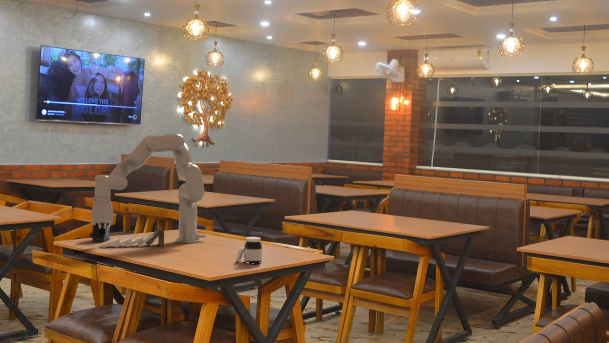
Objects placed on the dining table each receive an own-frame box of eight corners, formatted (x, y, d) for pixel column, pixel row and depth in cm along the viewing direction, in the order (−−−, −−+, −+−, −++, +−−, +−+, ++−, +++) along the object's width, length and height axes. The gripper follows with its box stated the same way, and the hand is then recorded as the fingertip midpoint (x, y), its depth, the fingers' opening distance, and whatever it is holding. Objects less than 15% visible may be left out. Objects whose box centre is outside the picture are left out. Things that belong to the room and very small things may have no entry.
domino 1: (101, 246, 362) (119, 241, 365) (102, 248, 357) (120, 242, 360) (101, 243, 362) (118, 238, 365) (101, 244, 357) (119, 239, 360)
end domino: (147, 244, 371) (158, 231, 372) (149, 246, 366) (160, 233, 367) (145, 243, 370) (156, 229, 372) (146, 244, 365) (158, 231, 367)
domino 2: (113, 246, 364) (130, 240, 367) (115, 247, 360) (132, 241, 362) (113, 243, 364) (129, 237, 367) (114, 244, 359) (131, 238, 362)
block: (161, 244, 375) (161, 228, 374) (164, 246, 367) (164, 231, 367) (158, 244, 374) (158, 228, 373) (160, 246, 366) (161, 231, 366)
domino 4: (138, 245, 369) (152, 234, 371) (140, 246, 364) (154, 236, 366) (136, 242, 369) (150, 232, 371) (138, 244, 364) (152, 233, 366)
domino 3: (125, 245, 367) (142, 238, 369) (127, 247, 362) (143, 240, 364) (124, 242, 366) (141, 235, 369) (126, 244, 361) (142, 237, 364)
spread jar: (263, 264, 327) (264, 239, 327) (238, 265, 324) (239, 239, 323) (257, 259, 339) (258, 235, 338) (233, 260, 336) (234, 235, 335)
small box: (104, 242, 374) (104, 222, 373) (91, 242, 374) (92, 222, 373) (110, 239, 384) (110, 220, 384) (98, 239, 384) (98, 219, 384)
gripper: (87, 200, 352) (87, 237, 353) (118, 200, 358) (118, 236, 359) (86, 199, 359) (85, 235, 360) (117, 198, 365) (116, 234, 366)
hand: (102, 236), depth 359 cm, fingers closed
